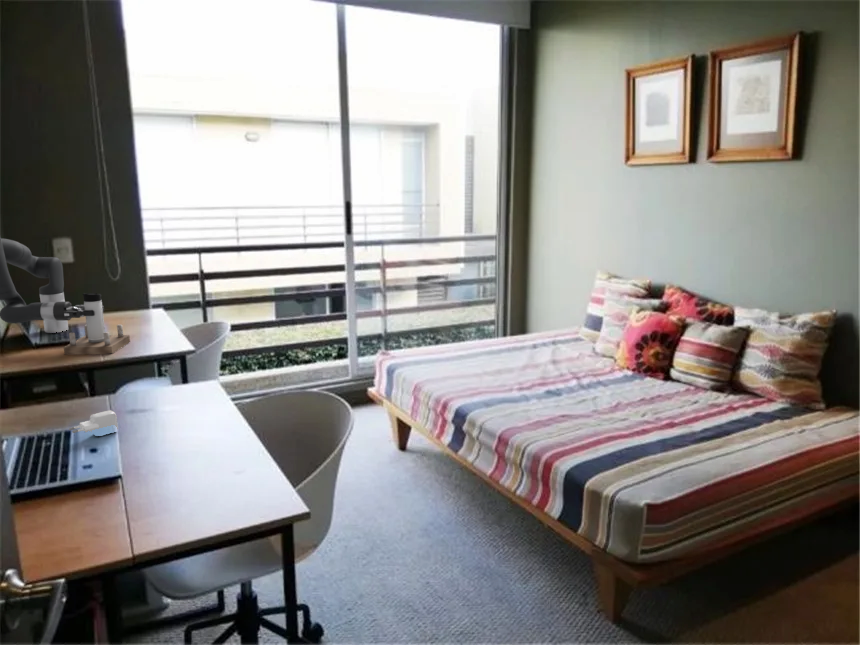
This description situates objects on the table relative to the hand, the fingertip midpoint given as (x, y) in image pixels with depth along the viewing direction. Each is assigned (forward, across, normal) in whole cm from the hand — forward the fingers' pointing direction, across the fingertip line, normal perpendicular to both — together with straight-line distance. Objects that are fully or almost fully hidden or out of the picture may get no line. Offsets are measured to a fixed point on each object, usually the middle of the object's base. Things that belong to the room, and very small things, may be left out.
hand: (99, 310), depth 248 cm
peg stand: (-2, 0, +16) cm, 16 cm away
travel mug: (-2, 0, +13) cm, 13 cm away
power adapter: (+36, -91, +16) cm, 99 cm away
